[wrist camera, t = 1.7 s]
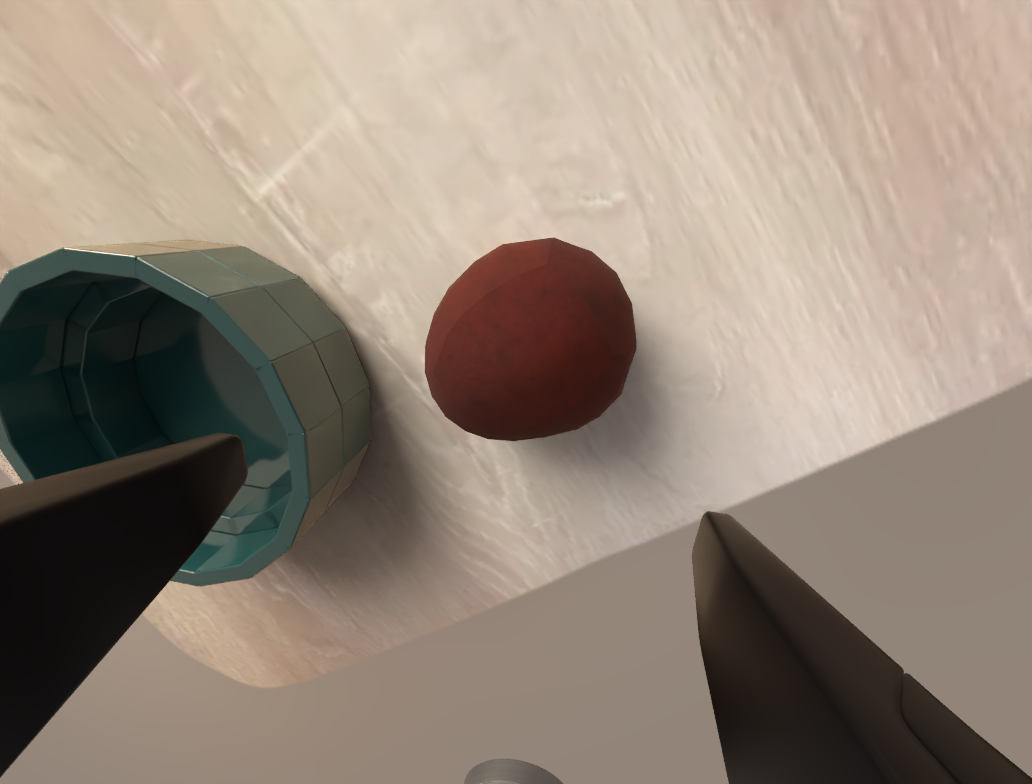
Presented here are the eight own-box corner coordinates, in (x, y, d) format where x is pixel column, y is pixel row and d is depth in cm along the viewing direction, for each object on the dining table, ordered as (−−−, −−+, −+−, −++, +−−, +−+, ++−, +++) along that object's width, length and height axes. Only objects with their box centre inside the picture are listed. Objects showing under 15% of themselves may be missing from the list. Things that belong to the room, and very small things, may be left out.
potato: (417, 325, 22) (341, 370, 16) (560, 195, 19) (540, 185, 13) (519, 441, 23) (488, 529, 17) (668, 336, 20) (700, 392, 14)
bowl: (377, 529, 27) (319, 612, 21) (143, 486, 28) (33, 552, 23) (372, 258, 21) (292, 274, 16) (85, 226, 23) (-77, 231, 18)
